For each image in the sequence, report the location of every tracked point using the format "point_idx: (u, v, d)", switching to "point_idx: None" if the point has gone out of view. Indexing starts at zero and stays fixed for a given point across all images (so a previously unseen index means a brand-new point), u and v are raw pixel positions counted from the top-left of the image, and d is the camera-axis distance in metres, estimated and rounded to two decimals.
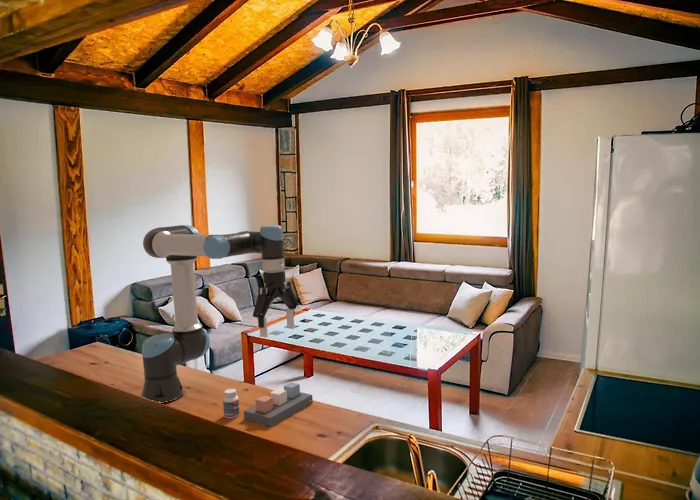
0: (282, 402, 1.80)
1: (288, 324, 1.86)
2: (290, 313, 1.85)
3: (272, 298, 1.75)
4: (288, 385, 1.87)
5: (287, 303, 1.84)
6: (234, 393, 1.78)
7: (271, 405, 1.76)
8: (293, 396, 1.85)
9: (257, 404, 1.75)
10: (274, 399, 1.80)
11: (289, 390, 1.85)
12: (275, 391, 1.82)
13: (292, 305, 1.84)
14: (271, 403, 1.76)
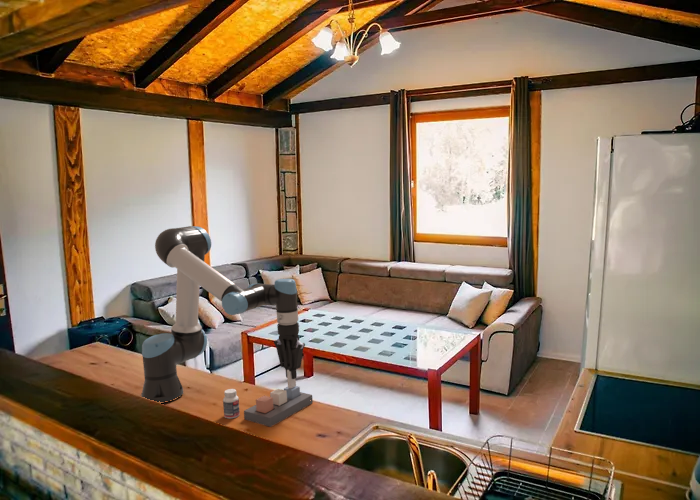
0: (282, 402, 1.80)
1: None
2: None
3: (283, 349, 1.85)
4: (289, 388, 1.87)
5: None
6: (234, 393, 1.78)
7: (271, 405, 1.76)
8: None
9: (257, 404, 1.75)
10: (274, 399, 1.80)
11: (289, 392, 1.86)
12: (275, 391, 1.82)
13: (291, 366, 1.85)
14: (271, 403, 1.76)
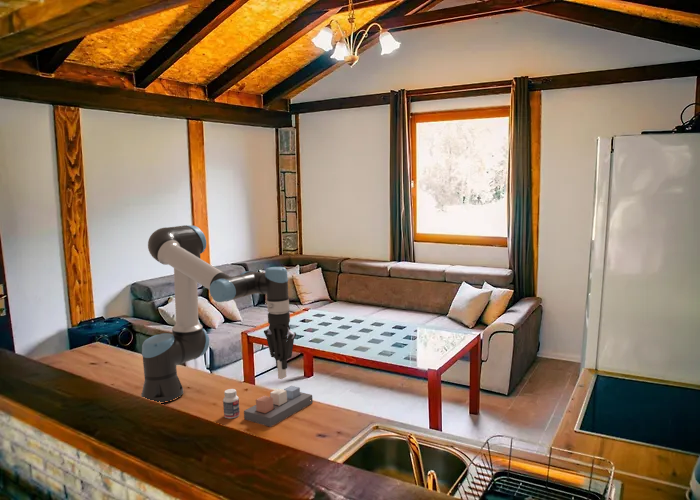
0: (282, 402, 1.80)
1: None
2: None
3: (274, 339, 1.81)
4: (289, 389, 1.87)
5: None
6: (234, 393, 1.78)
7: (271, 405, 1.76)
8: None
9: (257, 404, 1.75)
10: (274, 399, 1.80)
11: (289, 393, 1.86)
12: (275, 391, 1.82)
13: (281, 356, 1.81)
14: (271, 403, 1.76)
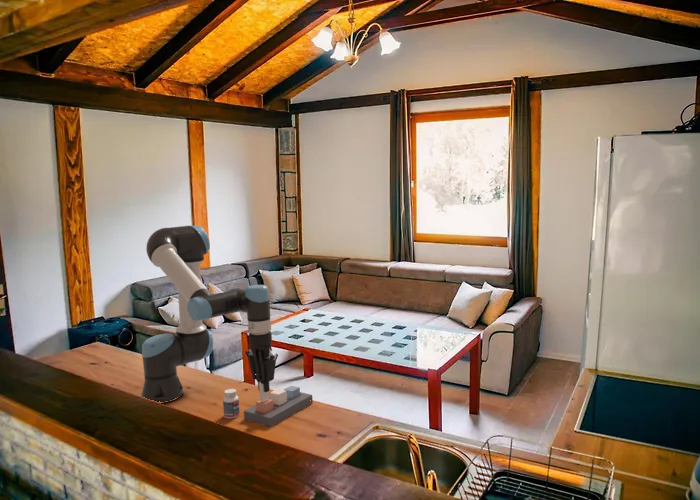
0: (282, 402, 1.80)
1: None
2: None
3: (255, 360, 1.74)
4: (289, 389, 1.87)
5: None
6: (234, 393, 1.78)
7: (271, 407, 1.76)
8: None
9: (257, 406, 1.75)
10: (274, 399, 1.80)
11: (289, 393, 1.86)
12: (275, 391, 1.82)
13: (263, 378, 1.73)
14: (271, 405, 1.76)
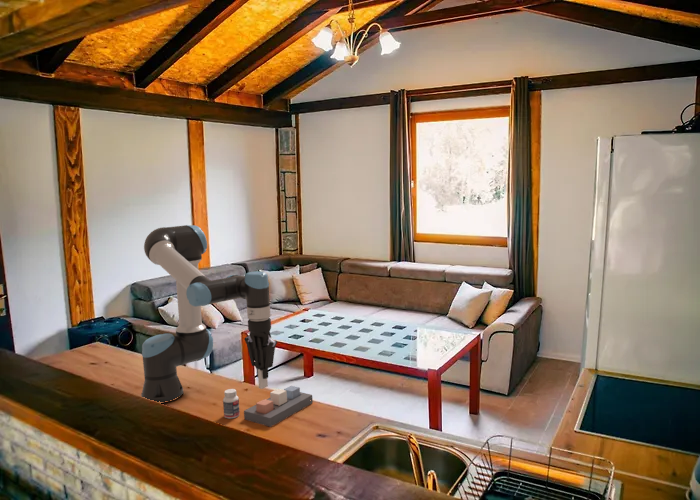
0: (282, 402, 1.80)
1: None
2: None
3: (254, 347, 1.73)
4: (289, 389, 1.87)
5: None
6: (234, 393, 1.78)
7: (271, 408, 1.76)
8: None
9: (257, 408, 1.75)
10: (274, 399, 1.80)
11: (289, 393, 1.86)
12: (275, 391, 1.82)
13: (262, 365, 1.73)
14: (271, 407, 1.76)
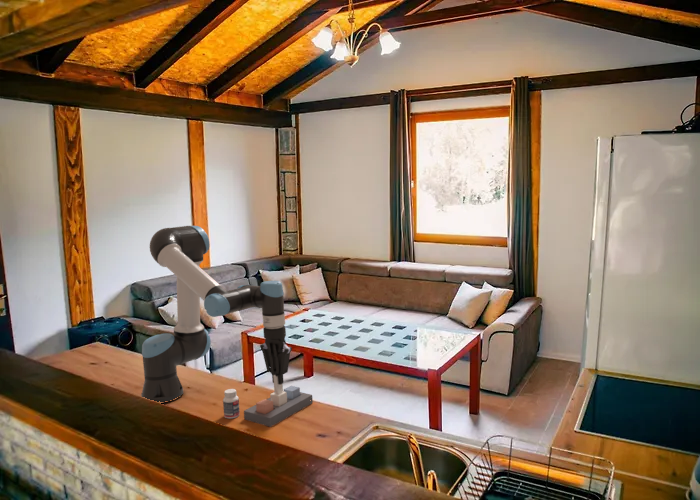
0: (282, 404, 1.80)
1: None
2: None
3: (269, 354, 1.79)
4: (289, 389, 1.87)
5: None
6: (234, 393, 1.78)
7: (271, 408, 1.76)
8: None
9: (257, 408, 1.75)
10: (274, 401, 1.80)
11: (289, 393, 1.86)
12: None
13: (277, 371, 1.79)
14: (271, 407, 1.76)
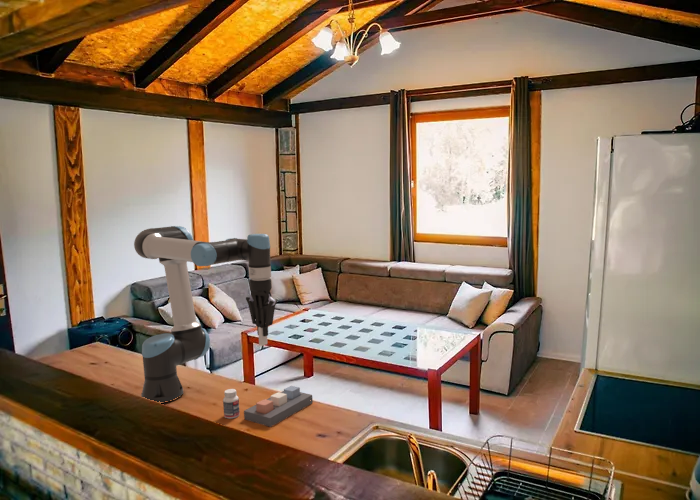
0: None
1: None
2: None
3: (255, 306, 1.81)
4: (289, 389, 1.87)
5: None
6: (234, 393, 1.78)
7: (271, 408, 1.76)
8: None
9: (257, 408, 1.75)
10: (274, 403, 1.80)
11: (289, 393, 1.86)
12: (275, 394, 1.82)
13: (262, 323, 1.81)
14: (271, 407, 1.76)
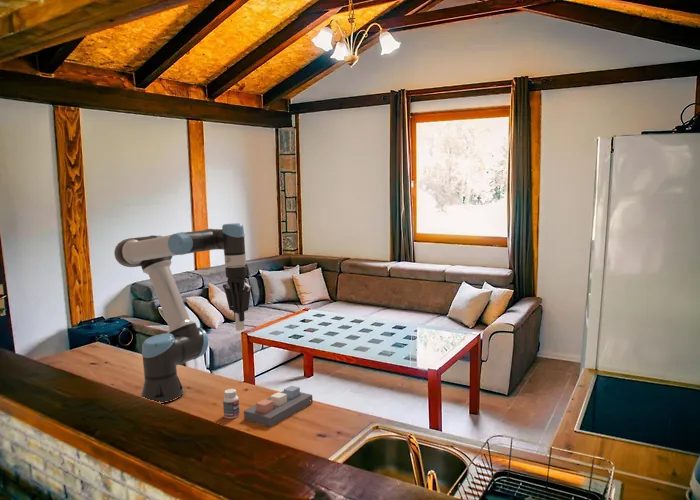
0: None
1: None
2: None
3: (231, 292, 1.90)
4: (289, 389, 1.87)
5: None
6: (234, 393, 1.78)
7: (271, 408, 1.76)
8: None
9: (257, 408, 1.75)
10: (274, 403, 1.80)
11: (289, 393, 1.86)
12: (275, 394, 1.82)
13: (238, 309, 1.89)
14: (271, 407, 1.76)
